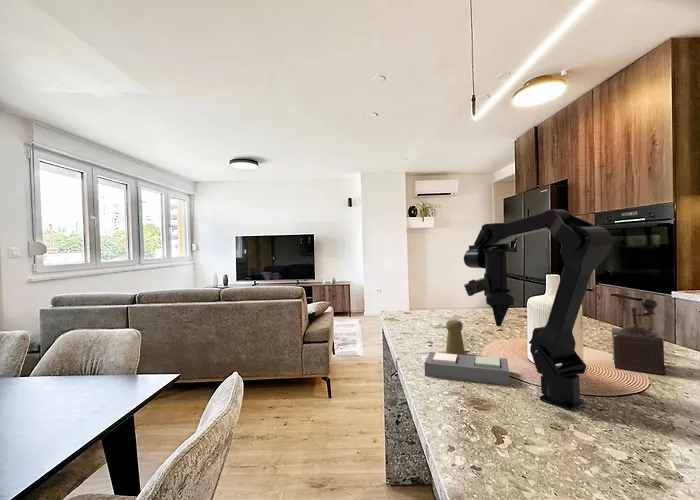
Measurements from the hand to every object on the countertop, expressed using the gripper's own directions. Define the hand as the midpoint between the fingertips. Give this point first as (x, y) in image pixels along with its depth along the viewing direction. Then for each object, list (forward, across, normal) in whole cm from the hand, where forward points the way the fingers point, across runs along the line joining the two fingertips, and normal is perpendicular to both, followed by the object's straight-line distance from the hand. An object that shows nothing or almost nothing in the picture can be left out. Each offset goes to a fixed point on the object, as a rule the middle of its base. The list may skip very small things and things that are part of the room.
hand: (498, 325), depth 90 cm
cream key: (+12, +2, -14) cm, 19 cm away
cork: (+13, -14, -12) cm, 23 cm away
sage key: (+12, +3, -3) cm, 13 cm away
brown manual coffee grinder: (+13, -17, +37) cm, 43 cm away
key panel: (+13, +2, -9) cm, 16 cm away
